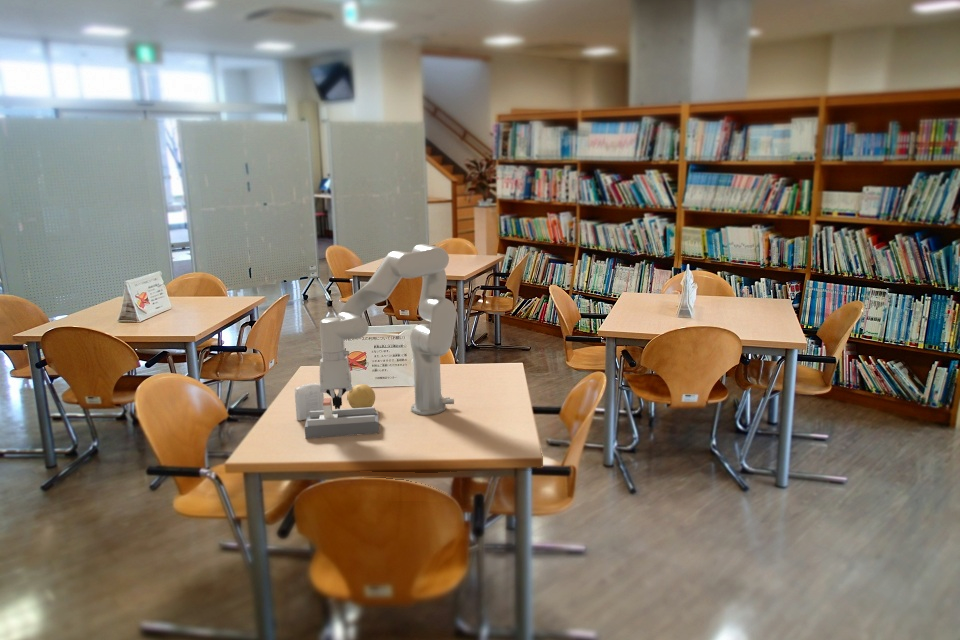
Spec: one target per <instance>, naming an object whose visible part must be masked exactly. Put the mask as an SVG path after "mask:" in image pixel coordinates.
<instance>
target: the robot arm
mask: <svg viewBox="0 0 960 640" xmlns="http://www.w3.org/2000/svg"><path fill="white" fill-rule="evenodd" d="M449 260H450V257H449V254H448V252H447V251H446V249H444V248H442V247H440V246H436V245H431V244H426V243H420V244H416V245H415V246H413V248H412V250H411V252H406V251H402V250H401V251H400V250H393V251H390V252H388V253H387V255H386V256H385V257H384V259H383V260H382V262H381V263H380V264H379V266H378V267H377V269H376V270H375V272H374V273H373V275H372V276H371V277H370V278H369V280H368V281H367V283H366V284H365V285H363V286H362V287H361V288H360V289H359V290H357V291H356V292H355V293H354V294H352V295H351V296H350V297H349V298H348V299H347V300H346V302H345V303H344V304H343V305H342V307H341V308H340V310H339V312H338V313H337V315H336V317H326V318H322V319H321V320H320V321H319V334H320V335H319V336H320V337H319V338H320V348H321V358H320V360H319V384H320V392H322V393H323V394H327V395H328V396H330V398H331V402H332V407H334V410H336V409H341V406H343V401H342V400H343V399H342V397H343V395H344V394H345V393H346V392H349V391H350V390H352V388H353V385H352V375H351V366H350V361H349V358H348V356H349V355H350V350H346V347H345V340H357V339H361V338H364V337H365V336H366V335H367V334H368V332H369V323H368V321H367V320H366V319H365V318H364V317H362V315H363V314H364V313H365V311H366V310H367V309H369V308H370V307H371V306H374V305H376V304H378V303H382V302H384V301H386V300H387V299H388V298H389V297H390V296H391V295H392V293H393V291H394V290H395V288H396V287H397V285H398V284H399V282H400V281H401V280H402V279H403V278H404V279H416V278H420V277H422V284H421V292H420V296H419V297H420V298H419V304H418V314H419V316H420V318H421V319H423V320H425V321H427V322H430V324H427V323H419V324H417V325H416V326H414V328H413V329H412V330H411V332H410V337H409V340H410V341H409V342H410V348H411V352H412V359H413V360H412V361H413V381H414V382H413V383H414V384H413V385H414V386H413V387H414V403H413V404H412V405H411V406H410V410H411V412H412V413H414V414H417V415H422V416H430V415H431V416H432V415H437V414H440V413H442V412H445V410H446V408H447V406H446V405H455V399H454V398H451V397H443V396H442V395H443V394H442V385H441V383H442V382H441V380H442V379H441V358H440V357H443V356H445V355H446V354H447V353H448V352H449V351H450V349H451V348H452V347H451V346H452V343H453V340H454V333H455V327H456V321H457V308H456V305H455V303H453V301H452V300H450V299H448V298H446V291H447V283H448V282H447V281H448V280H447V274H446V273H447V272H446V270H445V269H446V268H447V267H448V264H449ZM336 390H338V393H337V394H336V392H335V391H336Z"/></svg>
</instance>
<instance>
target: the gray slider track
mask: <svg viewBox="0 0 960 640" xmlns="http://www.w3.org/2000/svg"><path fill="white" fill-rule="evenodd" d="M332 414H338V418H323V419H319V417H320V415H324V410H320V411H310V416H307V419H305V424H304V436H305V439H319V438H329V437H330V438H332V437H345V436H347V435H348V436H358V435H357V434H362V435H373V434H374V433H377V434H379V432H380V431H379V430H380V425H379V423H380V422H379V421H380V420H379V411H376V407H375V406H372V407H367V408H352V407H351V408H340V409H338V408H337V409H332ZM374 435H375V434H374Z"/></svg>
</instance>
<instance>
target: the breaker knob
mask: <svg viewBox="0 0 960 640" xmlns="http://www.w3.org/2000/svg"><path fill="white" fill-rule="evenodd" d="M323 409H324V415H320V417H319V419H323V418H338V414H332V410H333V401H332V397H329V398H328V397H327V398H325V397H324V401H323Z"/></svg>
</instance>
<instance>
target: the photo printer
mask: <svg viewBox="0 0 960 640" xmlns="http://www.w3.org/2000/svg"><path fill="white" fill-rule="evenodd" d="M324 394H325V393H322V392H320V383H317V382H316V383H315V382H310V383H305V384H303V385H300V386H298V387H296V388H295V390H294V401H295V413H296V414H295V415H296V420H297V421H306V420H307V416H310V411H320V410H324V409H323V401H324V398H325V396H324Z"/></svg>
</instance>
